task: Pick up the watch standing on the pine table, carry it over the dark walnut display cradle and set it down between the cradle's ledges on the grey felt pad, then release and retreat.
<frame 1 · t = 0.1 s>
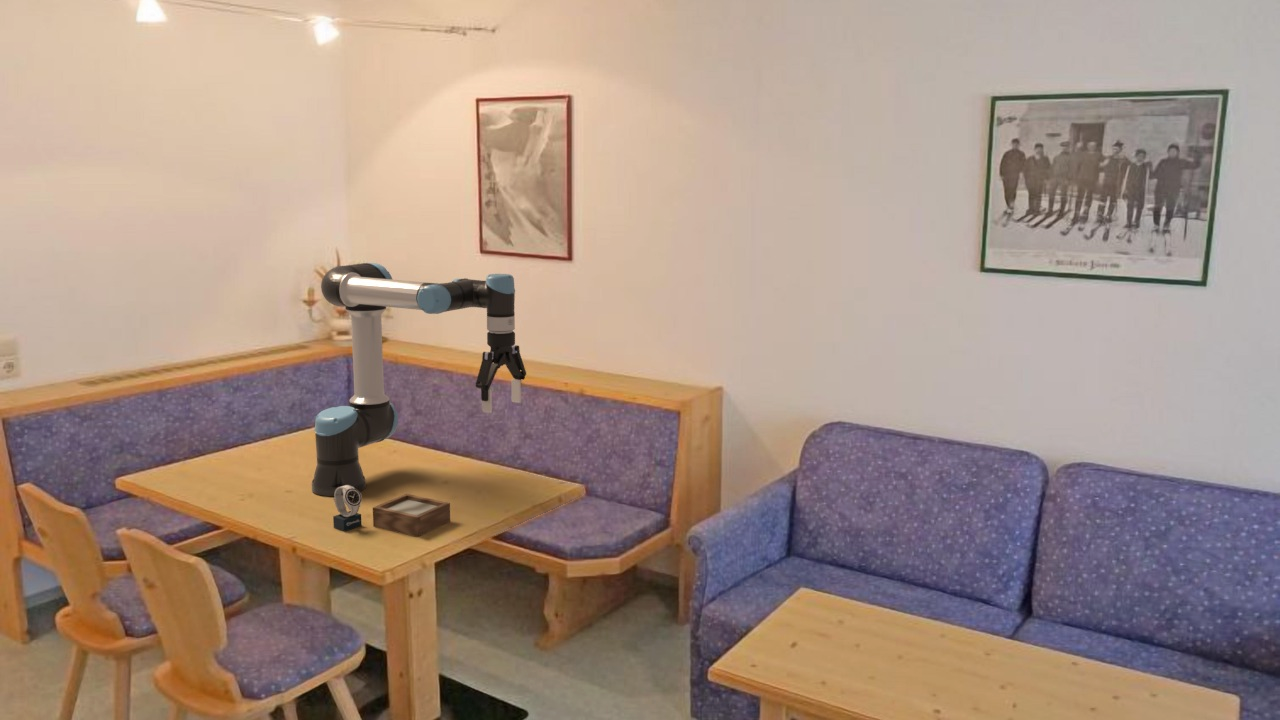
hand: (502, 407, 275), 28 cm above the table, fingers open, 13 cm apart
watch: (348, 527, 261), on the table
display cradle: (412, 523, 264), on the table
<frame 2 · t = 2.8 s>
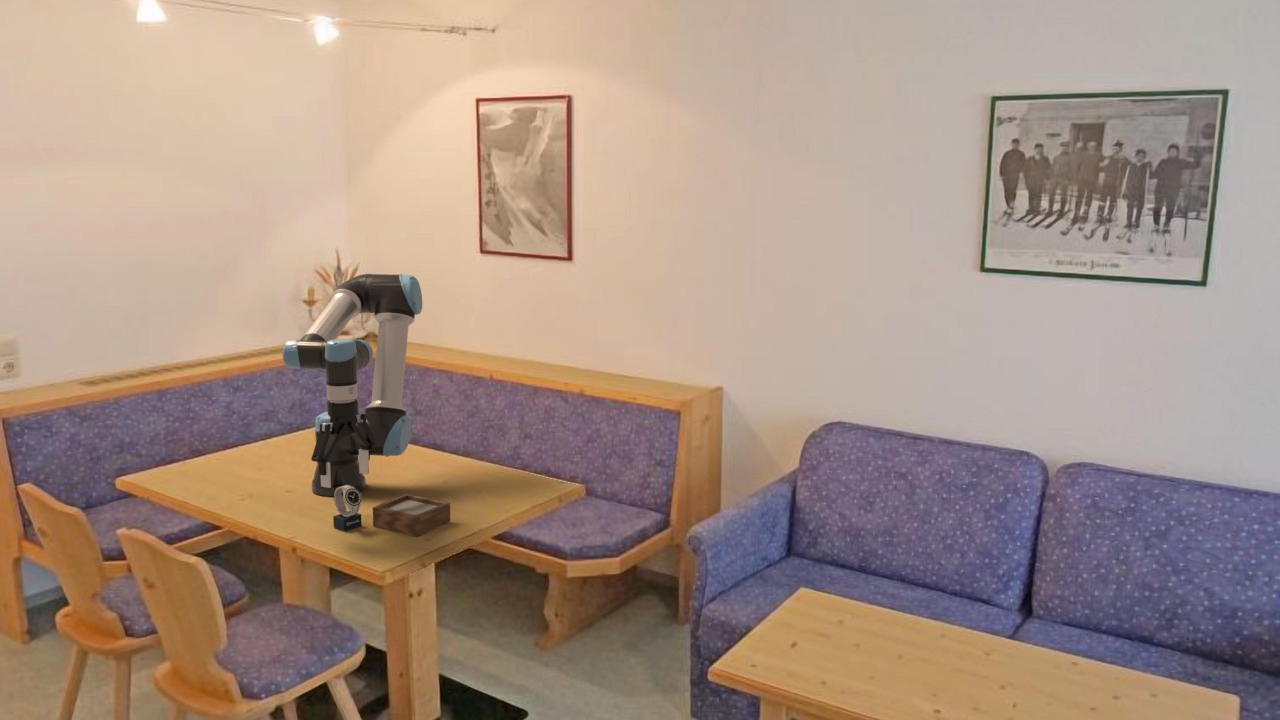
hand: (345, 480, 258), 13 cm above the table, fingers open, 13 cm apart
nothing on the table moved.
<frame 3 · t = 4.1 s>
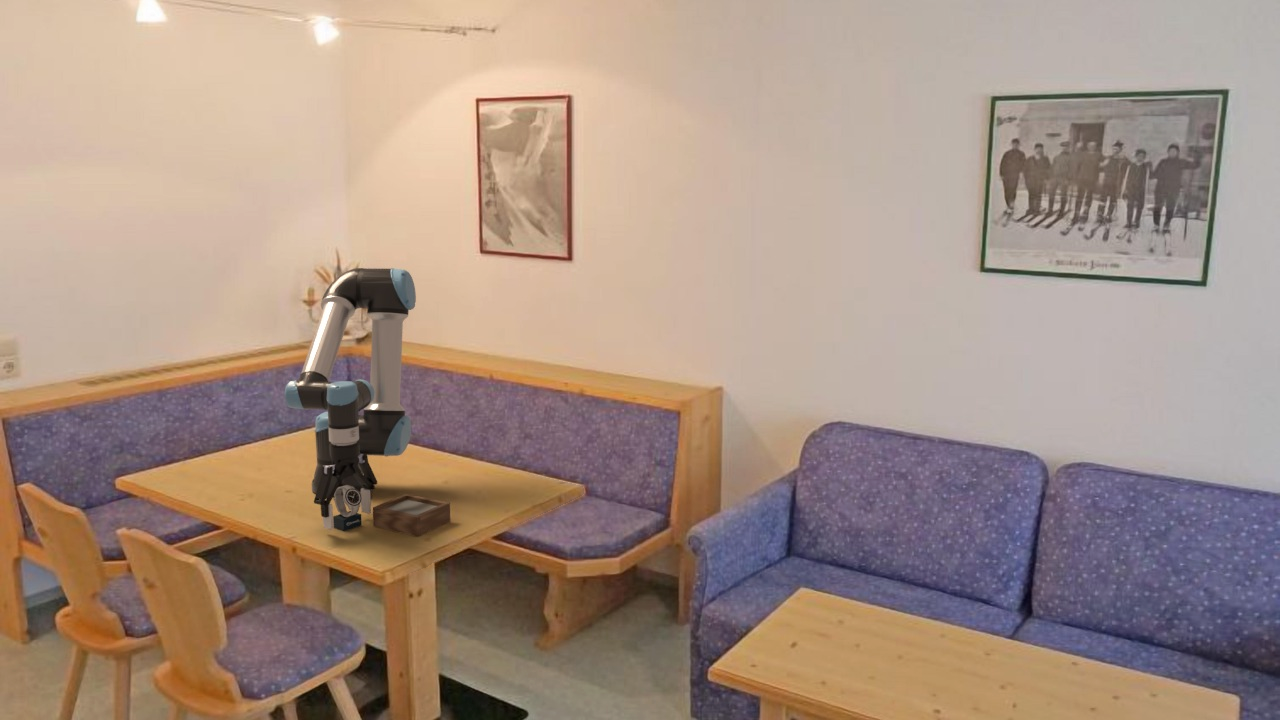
hand: (347, 520, 261), 2 cm above the table, fingers open, 13 cm apart
nothing on the table moved.
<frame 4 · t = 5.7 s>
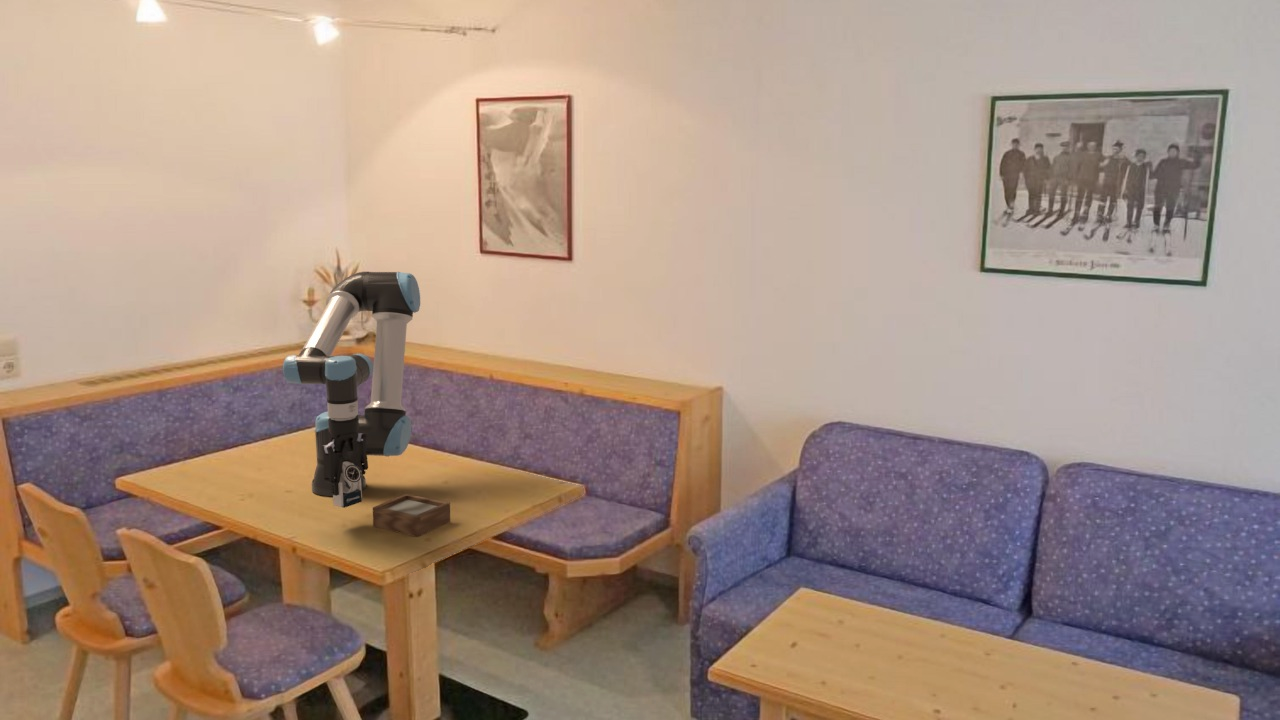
hand: (348, 501, 261), 7 cm above the table, fingers closed on watch, 6 cm apart
watch: (348, 503, 261), point 6 cm above the table, touching gripper
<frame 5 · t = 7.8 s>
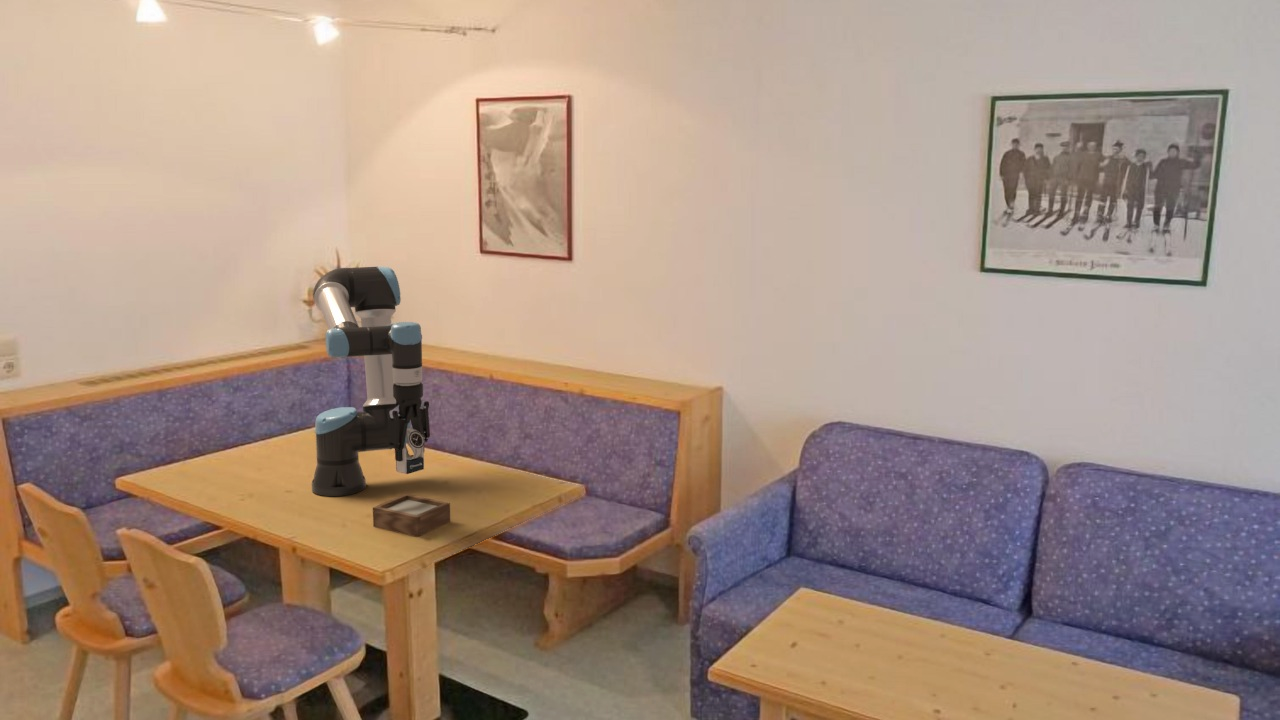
hand: (410, 469, 261), 15 cm above the table, fingers closed on watch, 6 cm apart
watch: (410, 470, 261), point 15 cm above the table, touching gripper
when the fingers open (6 cm above the table, at t = 10.0 s): watch drops 1 cm, resting on display cradle.
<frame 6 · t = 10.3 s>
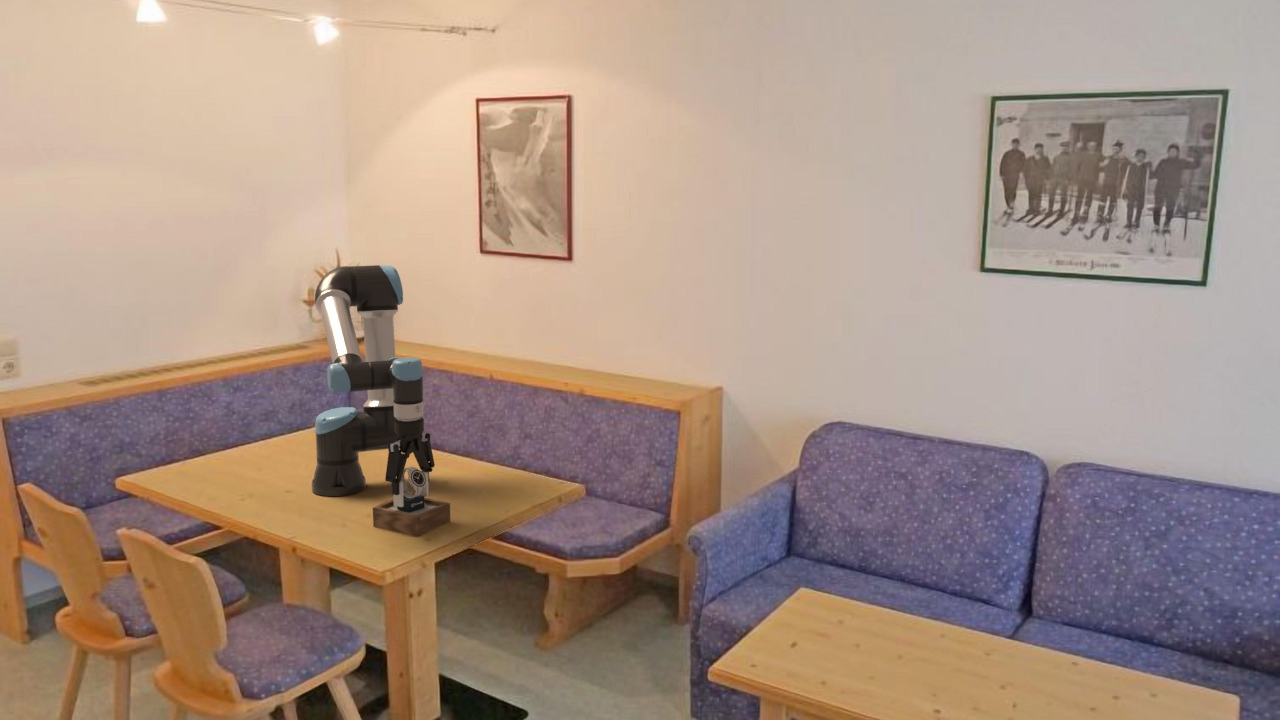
hand: (411, 500, 263), 7 cm above the table, fingers open, 9 cm apart
watch: (411, 509, 263), point 4 cm above the table, touching display cradle
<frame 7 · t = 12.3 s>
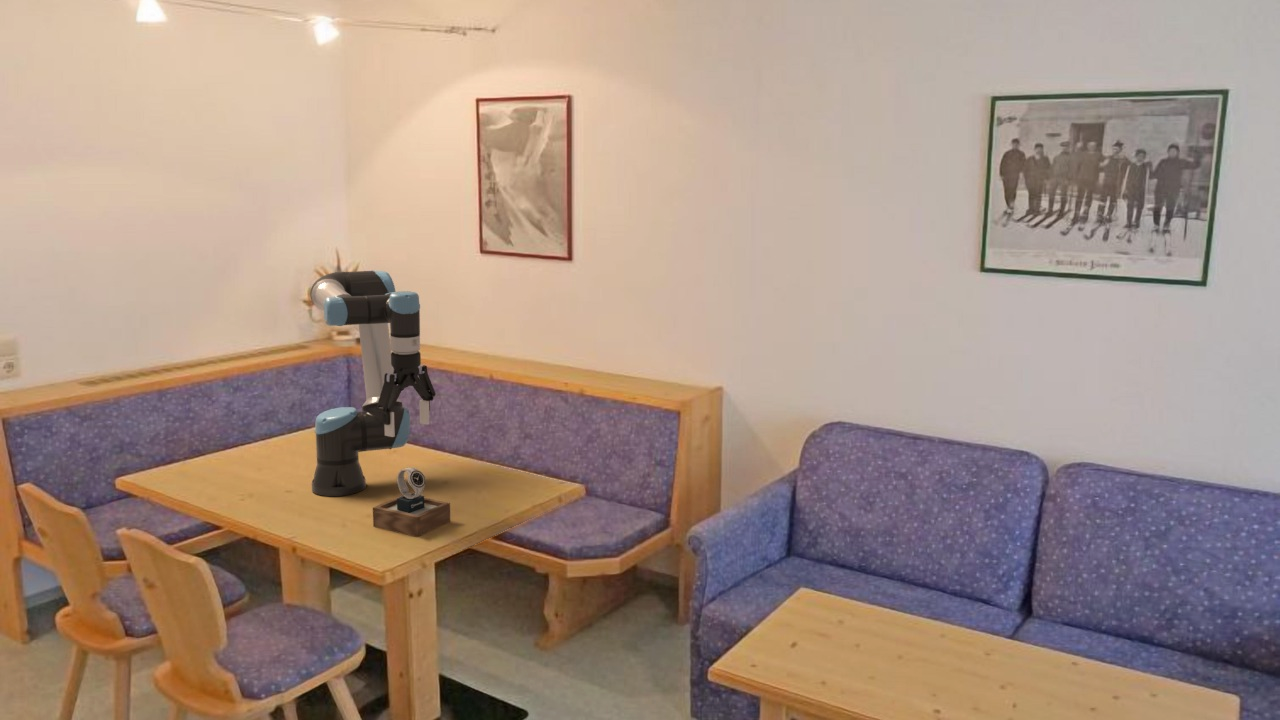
hand: (407, 429, 264), 24 cm above the table, fingers open, 13 cm apart
nothing on the table moved.
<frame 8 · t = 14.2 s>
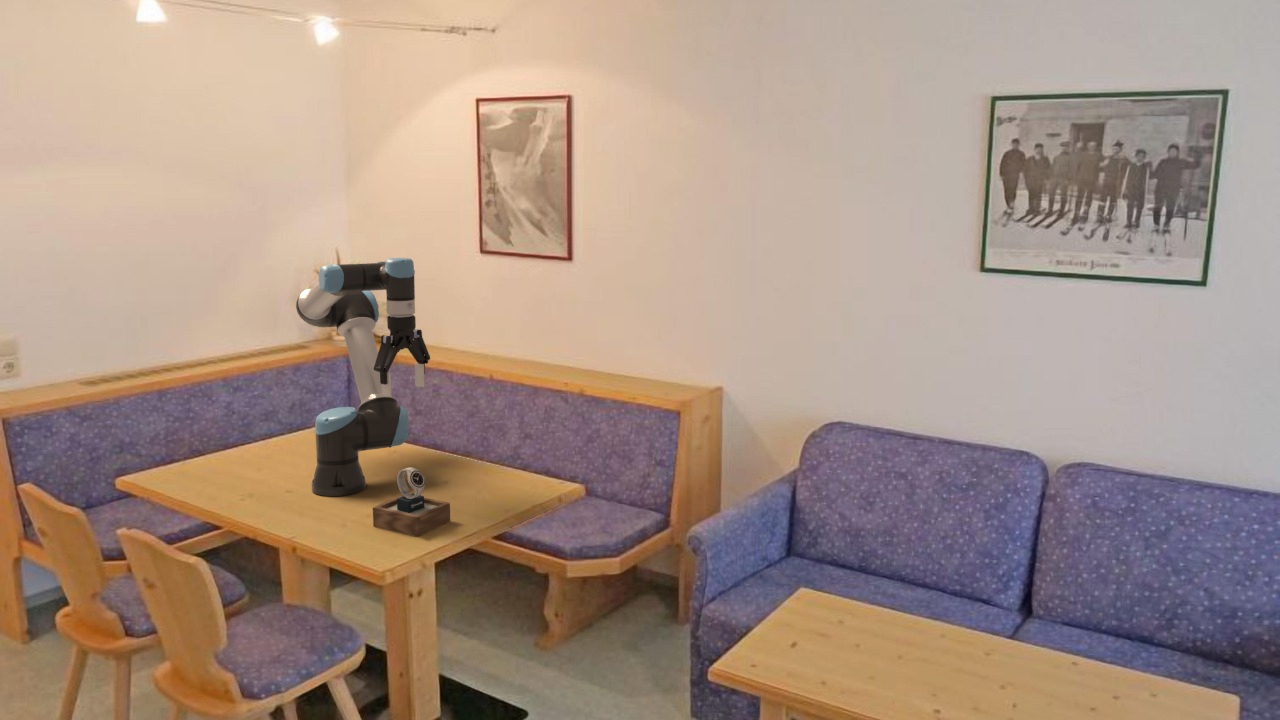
hand: (403, 391, 276), 32 cm above the table, fingers open, 13 cm apart
nothing on the table moved.
at the end: watch inside the target area on the display cradle (0.1 cm from its centre), point 4.0 cm above the display cradle's base; watch tilted 0°; the gripper is holding nothing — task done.
